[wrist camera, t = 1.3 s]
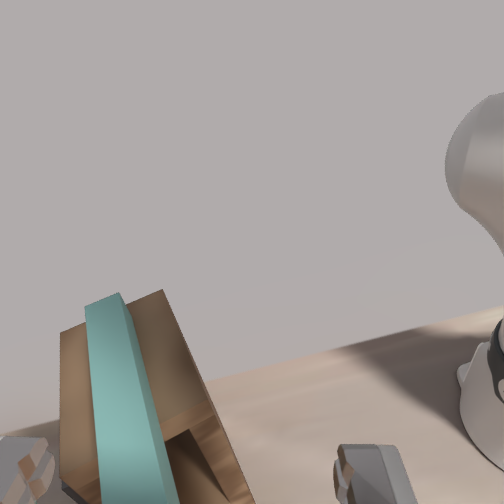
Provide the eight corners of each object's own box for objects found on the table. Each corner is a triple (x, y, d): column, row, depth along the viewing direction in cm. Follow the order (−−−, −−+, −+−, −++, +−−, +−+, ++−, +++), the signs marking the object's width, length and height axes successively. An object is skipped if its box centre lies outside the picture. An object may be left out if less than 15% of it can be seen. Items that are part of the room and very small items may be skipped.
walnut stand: (222, 424, 50) (162, 289, 35) (266, 530, 39) (207, 398, 24) (154, 461, 48) (60, 332, 33) (182, 586, 37) (59, 477, 22)
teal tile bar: (131, 316, 33) (118, 292, 31) (201, 586, 17) (182, 568, 15) (99, 330, 32) (84, 306, 30) (139, 628, 16) (111, 614, 14)
